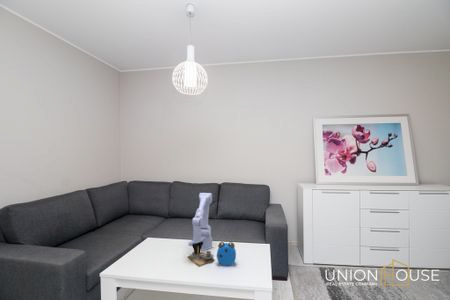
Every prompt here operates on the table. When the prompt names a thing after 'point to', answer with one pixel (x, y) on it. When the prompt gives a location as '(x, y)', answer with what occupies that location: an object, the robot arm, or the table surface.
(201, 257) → the wooden board with socket
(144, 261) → the table surface
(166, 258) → the table surface
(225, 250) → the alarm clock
